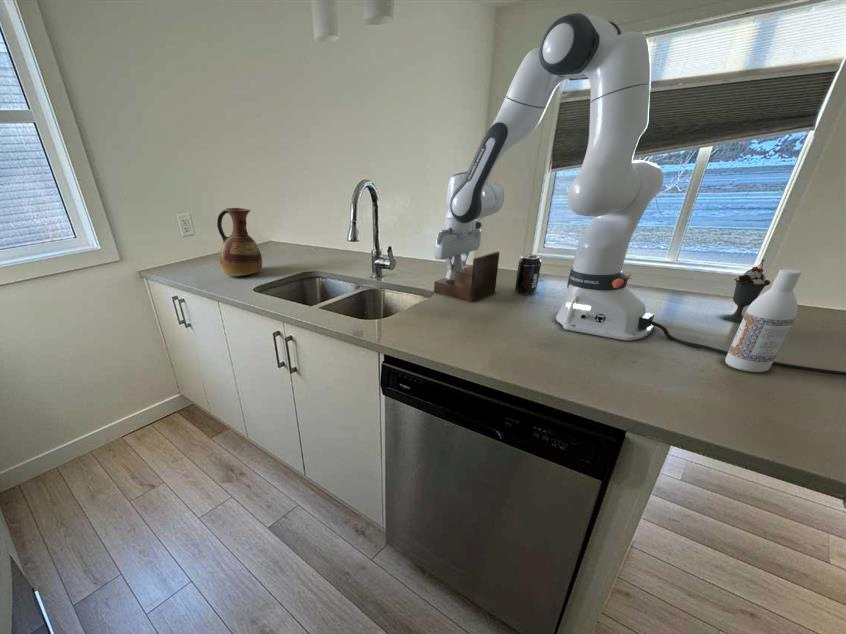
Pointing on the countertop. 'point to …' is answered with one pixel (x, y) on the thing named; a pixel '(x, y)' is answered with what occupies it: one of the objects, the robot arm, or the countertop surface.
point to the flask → (455, 267)
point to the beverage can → (528, 274)
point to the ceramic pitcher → (238, 246)
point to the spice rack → (472, 280)
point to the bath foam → (765, 325)
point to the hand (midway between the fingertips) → (456, 267)
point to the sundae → (747, 291)
